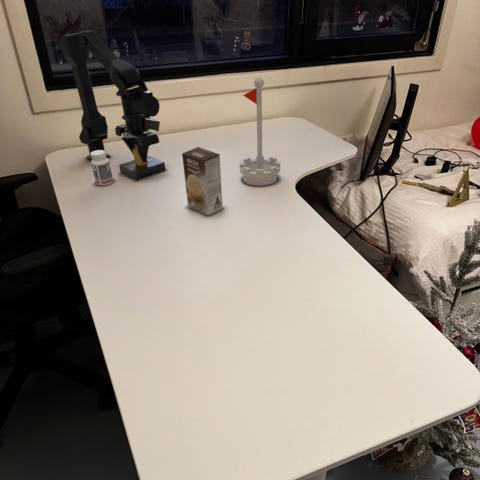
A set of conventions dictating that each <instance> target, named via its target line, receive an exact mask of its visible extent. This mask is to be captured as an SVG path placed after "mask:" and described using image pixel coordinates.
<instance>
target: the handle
mask: <svg viewBox="0 0 480 480" xmlns="http://www.w3.org/2000/svg"><path fill="white" fill-rule="evenodd" d="M132 155H133V160H135V164H136V165H139V166H141V165H146V164H148V159H147V161H146V162H143V161H142V159H141V157H140V155H139V153H138V151H137V149H136V147H135V148H133V154H132Z"/></svg>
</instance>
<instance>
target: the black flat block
mask: <svg viewBox="0 0 480 480" xmlns="http://www.w3.org/2000/svg"><path fill="white" fill-rule="evenodd" d="M147 159H148V164H146V165H141V166H139V165H136V164H135V160H134V159H133V160H130V161H127V162H124V163H120V164H119V165H118V168H119V173H120V175H122V176H126V177H127V178H130V179H132V180H133V181H140V180H143V179H146V178H149V177H152V176H154V175H157V174H161V173H163V172H166V163H165V161H163V160H160V159H158V158H155V157H153V156H151V155H147Z"/></svg>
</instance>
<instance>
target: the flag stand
mask: <svg viewBox="0 0 480 480" xmlns="http://www.w3.org/2000/svg"><path fill="white" fill-rule="evenodd" d="M264 85H265V81H264V78H262V77H261V76H258V77H256V78H255V79H254V81H253V86H254V87H255V88H254V89H252V90H249V91H248V92H246V93H244V94H243V95H242V96H243V97H245V98H246V99H248V100H249V101H250V102H252V103H254V104H255V105H256V148H257V149H256V151H257V152H256V153H257V154H256V155H255V159H252V158H251V157H250V156H247V157H245V158H243V161H239V173H240V174H241V175H242V177H243V178H242V180H243V182H244V183H245V184H247V185H250V186H256V187H257V186H258V187H261V186H268V185H272V184H275V182H276V181H278V174H279V173H280V172H281V160H278V159H277V157H274V156H269V158H265V155H263V97H262V96H263V93H262V92H263V91H262V88H263V86H264Z"/></svg>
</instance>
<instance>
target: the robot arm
mask: <svg viewBox="0 0 480 480" xmlns="http://www.w3.org/2000/svg"><path fill="white" fill-rule="evenodd" d="M59 48H60V50H61V52H62V55H63V58H64V59H65V60H66V61H67V63H69V65H70V66H71V69H72V73H73V78H74V81H75V85H76V89H77V92H78V97H79V100H80V104H81V108H82V112H83V113H82V116H81V120H80V124H81V131H80V132H79V135H78V136H79V137H78V138H79V140H80V143H81V144H84V145H87V149H88V153H89V154H88V155H87V156H86V159H88V160H90V161H92V158H91V152H93V151H96V150H104V151H105V152H106V149H105V145H104V140H107V139H108V137H109V136H108V131H109V130H108V128H109V125H108V124H107V123H108V122H107V118H106V116H105V115H103V114H102V113H101V112H100V111H99V109H98V106H97V101H96V95H95V93H94V92H95V91H94V88H93V84H92V80H91V76H90V72H89V67H88V61H89V58H90V54H91V55H92V57H94V58H95V60H97V61H98V62H99V64H100V65H102V67H104V68H105V70H107V72H108V73H109V77H110V81H111V82H112V83H113V84H114V86H115V87H116V88H117V89H118V90H117V91H116V93H115V96H116V97H120V101H121V106H122V112H123V115H121V119H122V120H124V123H122V124H118V125H116V127H115V128H114V132H115V136H118V137H121V140H122V141H123V142H124V144H125V145H126V146H127V149H128V150H129V151H130V152H131V154H132V155H133V148H135V147H136V149H137V151H138V153H139V155H140V157H141V159H142V161H143V162H146V161H147V156H148V153H149V148H150V146H153V145H156V144H159V143H160V136H159V135H158V134H157V133H155V132H159V131H160V125H161V121H160V120H157V119H155V118H154V117H156V116H157V115H158V114H159V113H160V107H161V105H160V102H159V100H158V98H157V97H155V96H154V93H153V91H149V88H148V86H147V84H146V82H145V81H144V80H143V78H142V76H141V74H140V72H139V70H138V69H137V68H136V67H135V66H134V65H133V64H131V63H130V62H127V61H125V60H122V59H120V58H119V57H118V56H117V55H116V54H115V53H114V51H112V50H111V48H109V47H108V46H107V44H105V42H103V41H102V39H100V37H98V35H97V32H96V31H94V30H84V31H80V32H74V33H67V34H62V35H61V36H60V39H59ZM150 130H151V131H150ZM152 131H155V132H152ZM122 135H123V137H122ZM106 158H108V159H109V158H111V155H109V154H107V153H106Z"/></svg>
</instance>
